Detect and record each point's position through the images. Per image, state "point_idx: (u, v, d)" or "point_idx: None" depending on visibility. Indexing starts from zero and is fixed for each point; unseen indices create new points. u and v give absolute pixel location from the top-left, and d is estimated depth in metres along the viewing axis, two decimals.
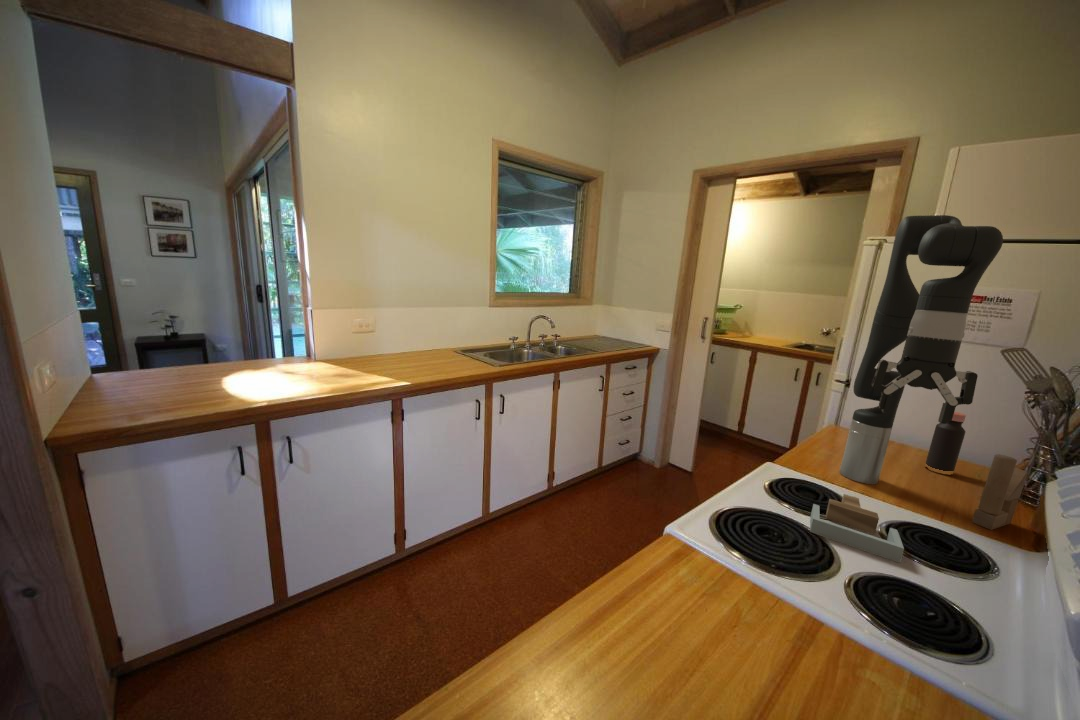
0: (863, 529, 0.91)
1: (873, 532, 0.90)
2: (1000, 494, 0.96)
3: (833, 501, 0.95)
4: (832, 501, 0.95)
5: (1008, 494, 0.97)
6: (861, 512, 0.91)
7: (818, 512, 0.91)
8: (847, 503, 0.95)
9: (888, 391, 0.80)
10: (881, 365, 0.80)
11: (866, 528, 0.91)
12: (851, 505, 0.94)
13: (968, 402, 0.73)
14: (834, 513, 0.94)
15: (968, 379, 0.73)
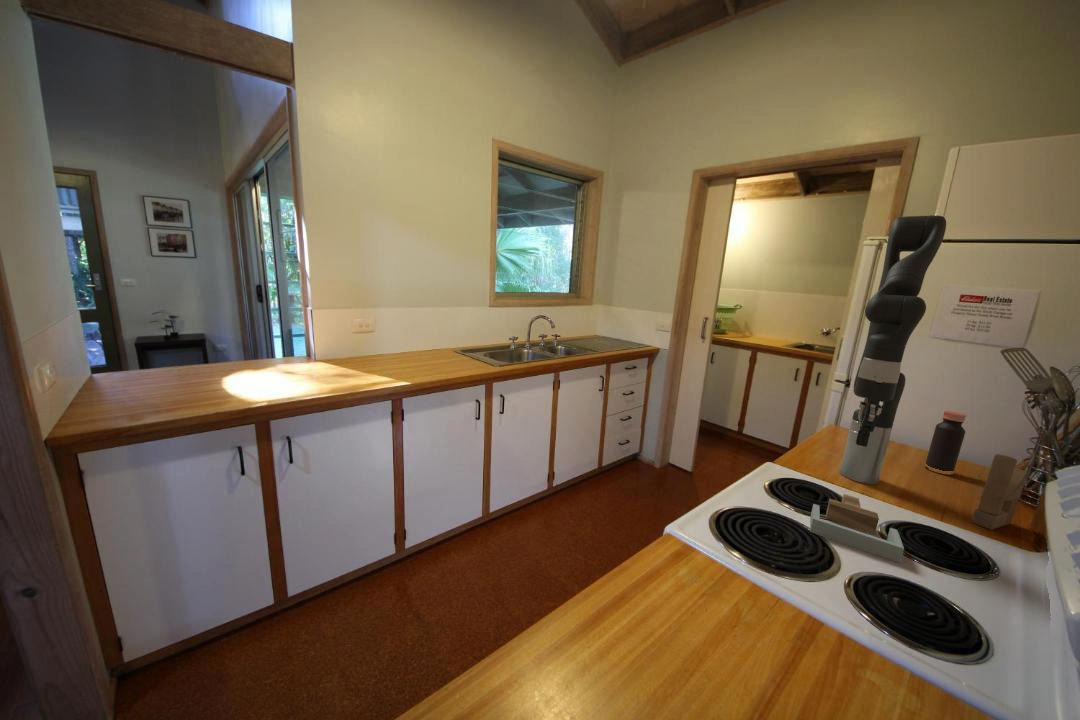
0: (863, 529, 0.91)
1: (873, 532, 0.90)
2: (1000, 494, 0.96)
3: (833, 501, 0.95)
4: (832, 501, 0.95)
5: (1008, 494, 0.97)
6: (861, 512, 0.91)
7: (818, 512, 0.91)
8: (847, 503, 0.95)
9: None
10: (877, 420, 0.94)
11: (866, 528, 0.91)
12: (851, 505, 0.94)
13: None
14: (834, 513, 0.94)
15: None
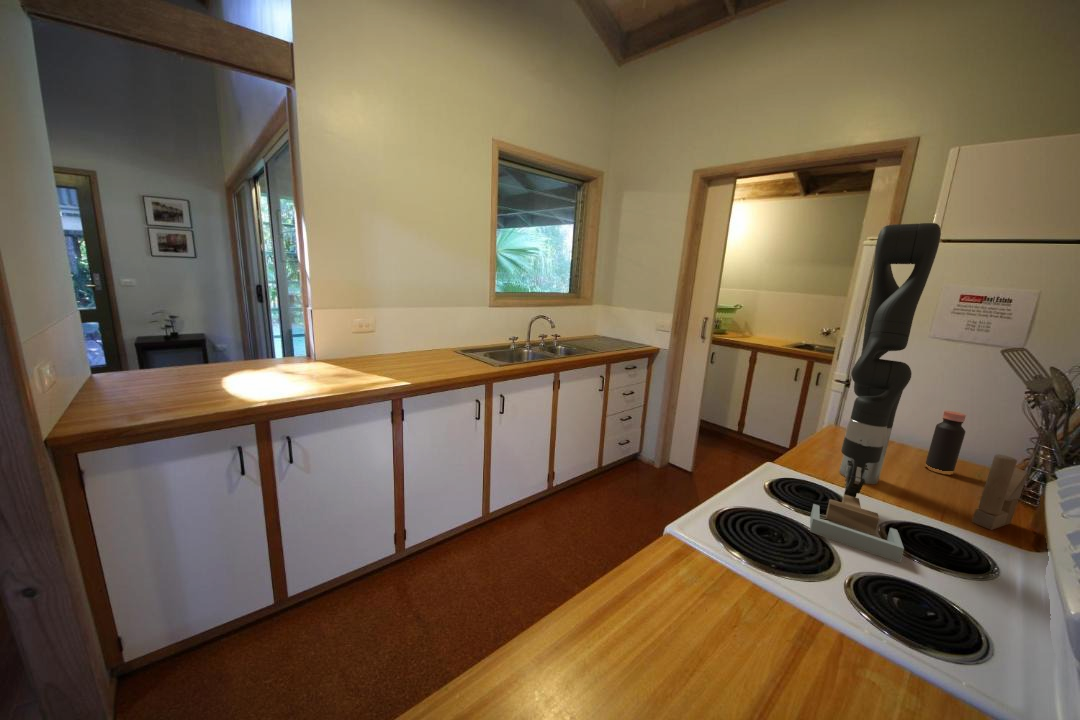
0: (863, 529, 0.91)
1: (873, 532, 0.90)
2: (1000, 494, 0.96)
3: (833, 501, 0.95)
4: (832, 501, 0.95)
5: (1008, 494, 0.97)
6: (861, 512, 0.91)
7: (818, 512, 0.91)
8: (847, 503, 0.95)
9: None
10: (863, 483, 0.95)
11: (866, 528, 0.91)
12: (851, 506, 0.94)
13: None
14: (834, 513, 0.94)
15: None
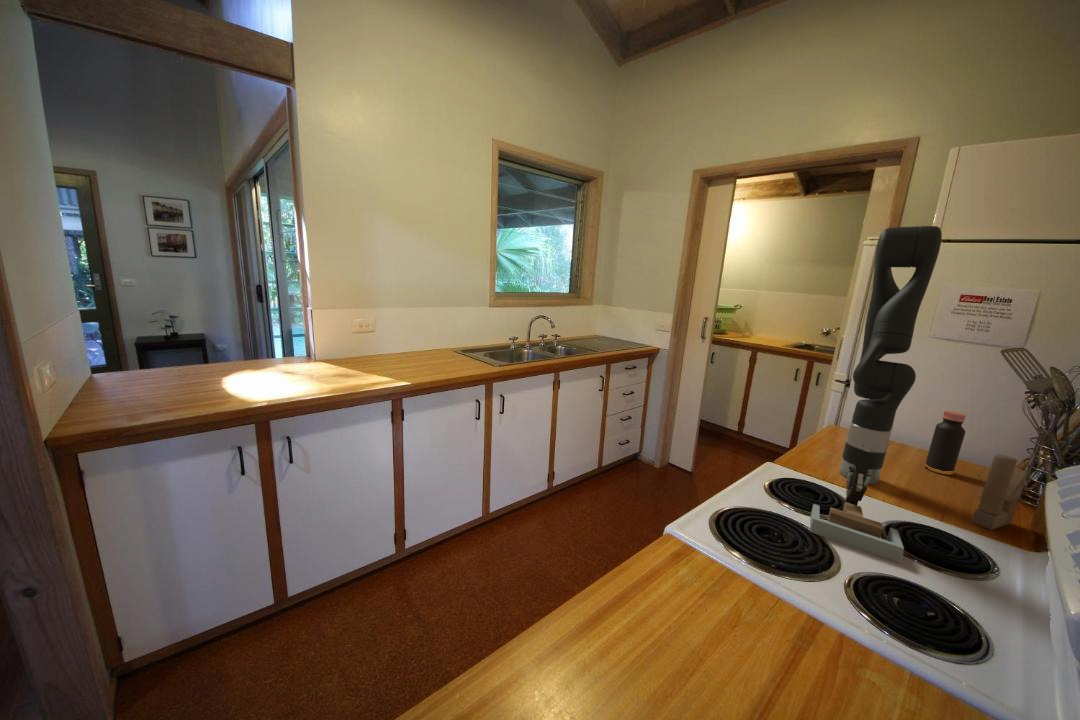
0: None
1: None
2: (1000, 494, 0.96)
3: (834, 510, 0.91)
4: (833, 510, 0.91)
5: (1008, 494, 0.97)
6: (864, 522, 0.87)
7: (818, 512, 0.91)
8: (849, 512, 0.91)
9: None
10: (865, 491, 0.90)
11: None
12: (853, 515, 0.90)
13: None
14: (836, 522, 0.90)
15: None
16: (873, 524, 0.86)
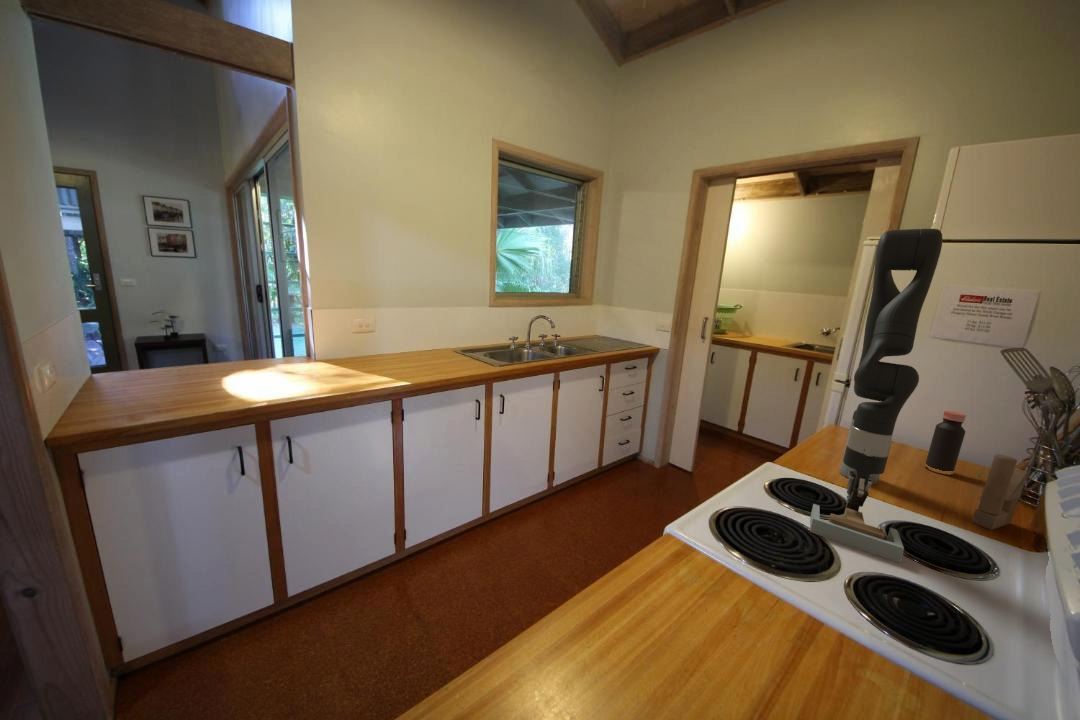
0: None
1: None
2: (1000, 494, 0.96)
3: (835, 516, 0.88)
4: (834, 516, 0.88)
5: (1008, 494, 0.97)
6: (865, 529, 0.84)
7: (818, 512, 0.91)
8: (849, 518, 0.88)
9: None
10: (866, 496, 0.88)
11: None
12: (854, 521, 0.87)
13: None
14: None
15: None
16: (875, 531, 0.84)
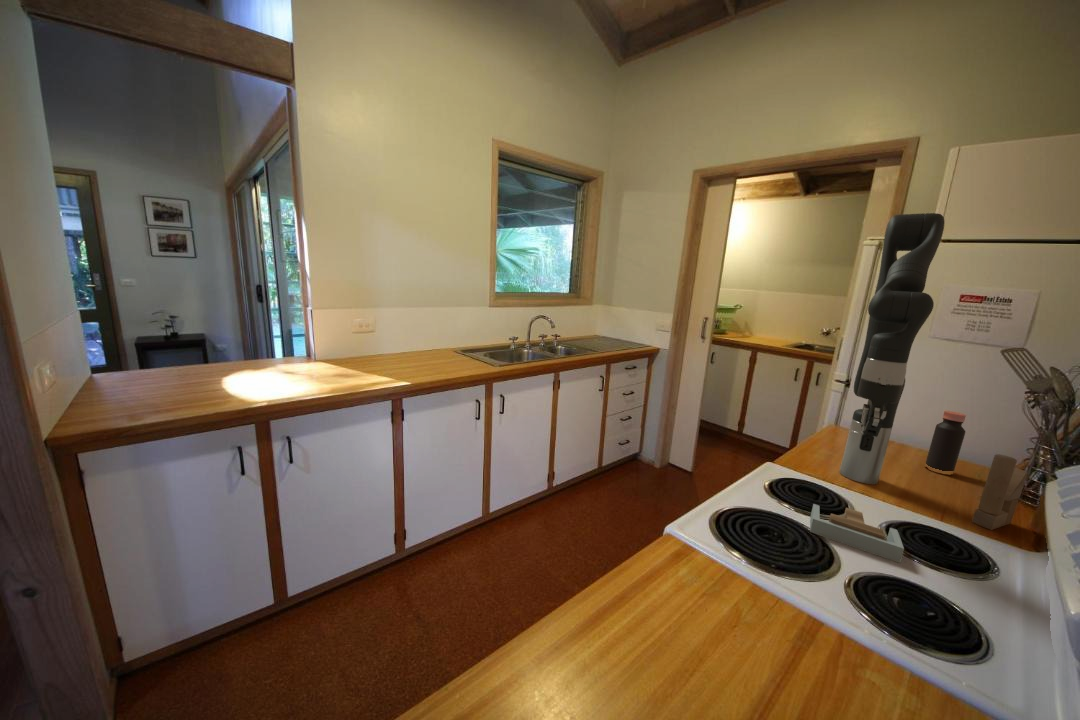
0: None
1: None
2: (1000, 494, 0.96)
3: (835, 516, 0.88)
4: (834, 516, 0.88)
5: (1008, 494, 0.97)
6: (865, 529, 0.84)
7: (818, 512, 0.91)
8: (849, 518, 0.88)
9: None
10: (882, 424, 0.89)
11: None
12: (854, 521, 0.87)
13: None
14: None
15: None
16: (875, 531, 0.84)
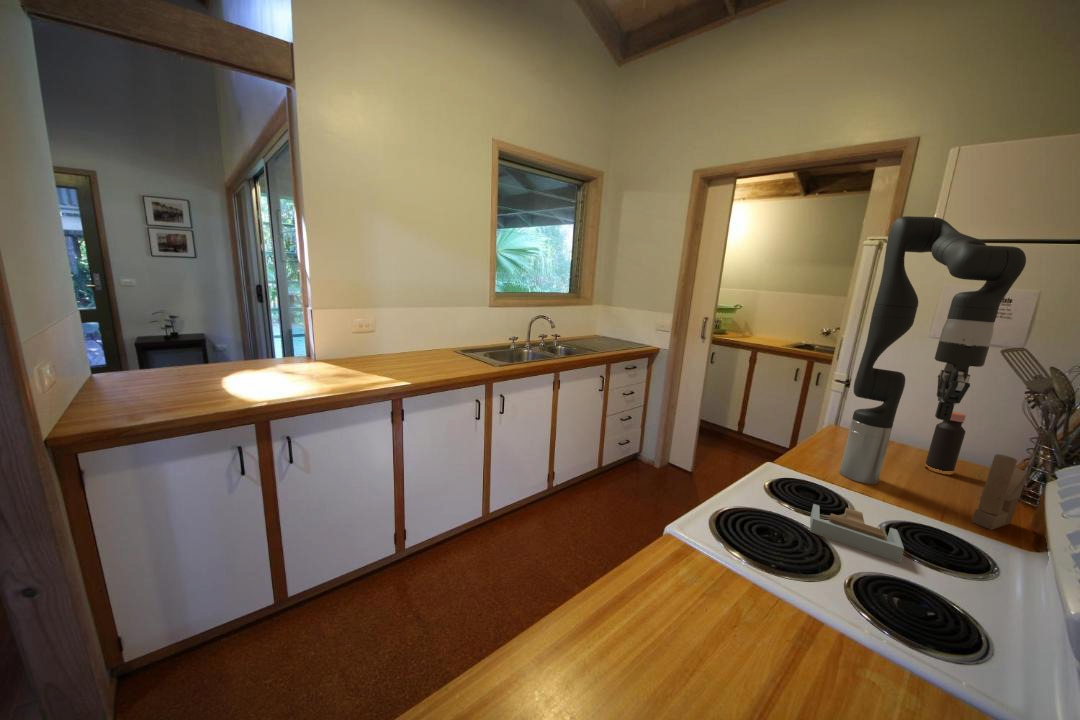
0: None
1: None
2: (1000, 494, 0.96)
3: (835, 516, 0.88)
4: (834, 516, 0.88)
5: (1008, 494, 0.97)
6: (865, 529, 0.84)
7: (818, 512, 0.91)
8: (849, 518, 0.88)
9: None
10: (967, 388, 0.82)
11: None
12: (854, 521, 0.87)
13: (952, 397, 0.89)
14: None
15: None
16: (875, 531, 0.84)
